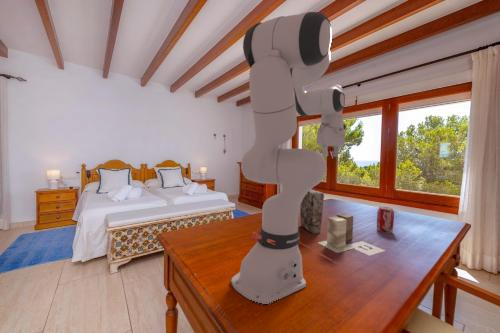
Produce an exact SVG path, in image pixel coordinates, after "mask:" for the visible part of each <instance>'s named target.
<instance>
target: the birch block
mask: <svg viewBox="0 0 500 333" xmlns="http://www.w3.org/2000/svg"><path fill="white" fill-rule="evenodd" d="M346 222H347V220H346V219H343V218H340V217H337V215H336V216H331V217H327V232H326V235H327V236H326V241H327V244H328V245H330V246H332V247H334V248H336V249H338V248H342V247H345V244H347V243H346V242H347V241H346Z"/></svg>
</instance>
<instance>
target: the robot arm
mask: <svg viewBox="0 0 500 333" xmlns="http://www.w3.org/2000/svg"><path fill="white" fill-rule="evenodd" d="M332 36H333V35H332V26H331V21H330V19H329V18H328V16H326V14H324V13H323V12H321V11H320V12H319V11H308V12H303V13H299V14H291V15H287V16H286V15H281V16H277V17H273V18H271V19H268V20H266V21H263V22H261V21H260V22H257V23H255V24H253V25H252V26H250V27H249V28H247V29H246V31H245V34H244V37H243V42H242V49H243V55H244V57H245V58H244V59H245V60H246V62H247V64H248V67H249V68H250V69H249V79H248V80H249V98H250V105H251V110H252V116H253V122H254V123H253V124H254V130H255V131H254V132H255V139H254V143H253V145H252V147H251V148H250V149H249V150H248V151H246V152H245V153H244V155H243V156H242V159H241V161H240V162H241V164H240V166H241V168H240V169H241V172H242V175H243V176H244V178H245V179H246V180H248V181H251V182H254V183H258V184H259V183H260V184H267V185H268V184H269V185H281V192H280V193H277V194H274V195H272V196H270V197H269V198H267V199H265V201H264V202H263V205H262V208H261V209H262V210H261V211H262V214H261V221H262V222H261V227H260V229H259V233H257V231H253V232H252V234H251V239H253V240H255V241H257V242H256V243H255V244H254V245H253V247H252V248H251V249H250V250H249V251H248V253H247V254H246V256H245V257H244V258H242V260H241V263H240V269H239V272H238V273H236V274H235V275H234V276H232V277H231V280H230V281H231V285H232V287H233V288H234V289H235V291H236V292H238V293H239V294H241V295H242V296H243V297H245V298H246V299H247V300H250V301H251V300H252V301H251V302H253V301H255V302H254V303H256V302H258V303H257V304H259V303H262V304H261V305H263V304H268V305H270V304H272V303H274V302H273V301H275V302H276V300H277V301H279V300H281V299H283V298H285V297H287V296H289V295H291V294H293V293H295V292H297V291H299V290H302V289H304V288H306V286H307V282H306V279H305V278H304V277H303V276H304V274H303V273H304V272H303V256H302V253H301V251H300V248H299V244H300V237H301V236H300V229H299V220H300V219H299V217H300V206H301V202H302V200H303V198H304V197H305V195H306V194H307V193H308V191H309V190H310V189H311V190H313V188H314V187H316V186H317V185H319V184H320V183H321V182H322V181H323V180H324V178H325V177H326V174H327V169H328V168H327V162H326V158H325V157H329V151H328V149H329V147H332V148H333V151H332V157H334V158H337V157H338V156H339V151H340V148H342V147H344V145H345V140H346V131H347V125H346V124H345V121H344V115H343V110H344V108H345V102H346V101H345V100H346V98H345V97H346V96H345V93H344V91H343V90H344V89H343V88H342V86H341V85H340V84H330V85H327V86H325V87H324V88H323V89H318V90H317V89H316V90H310V91H308V90H305V86H306V85H308V84H310V83H312V82H314V81H317V80H319V79H320V78H321V77H322V76H323V75H324V74H325V73H326V72H327V70H328V68H329V67H330V66H329V65H330V64H331V51H330V48H331V43H332V38H333V37H332ZM297 114H298V115H299V116H301V117H303V118H304V117H305V118H306V117H311V116H316V115H317V116H318V115H321V118H320V119H321V120H320V125H319V127H318V128H317V132H316V141H315V142H316V144H317V146H321V151H322V153H321V152H320V151H316V150H313V149H312V150H311V149H307V148H280V146H281V145H283V144H285V143H287V142H288V141H290V140H291V139H292V138H293V137H294V136H295V134H296V133H297V131H298V130H297V129H298V120H297V118H298V116H297ZM278 299H279V300H278ZM271 302H272V303H271ZM269 303H270V304H269Z"/></svg>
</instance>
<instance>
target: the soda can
mask: <svg viewBox="0 0 500 333" xmlns="http://www.w3.org/2000/svg"><path fill="white" fill-rule="evenodd" d="M376 215H377V216H376V230H377V231H378V232H380V233H383V234H391V233H393V232H394V226H395V225H394V222H395V212H394V209H393V208H391V207H388V206H379V208H378V209H377V213H376Z"/></svg>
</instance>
